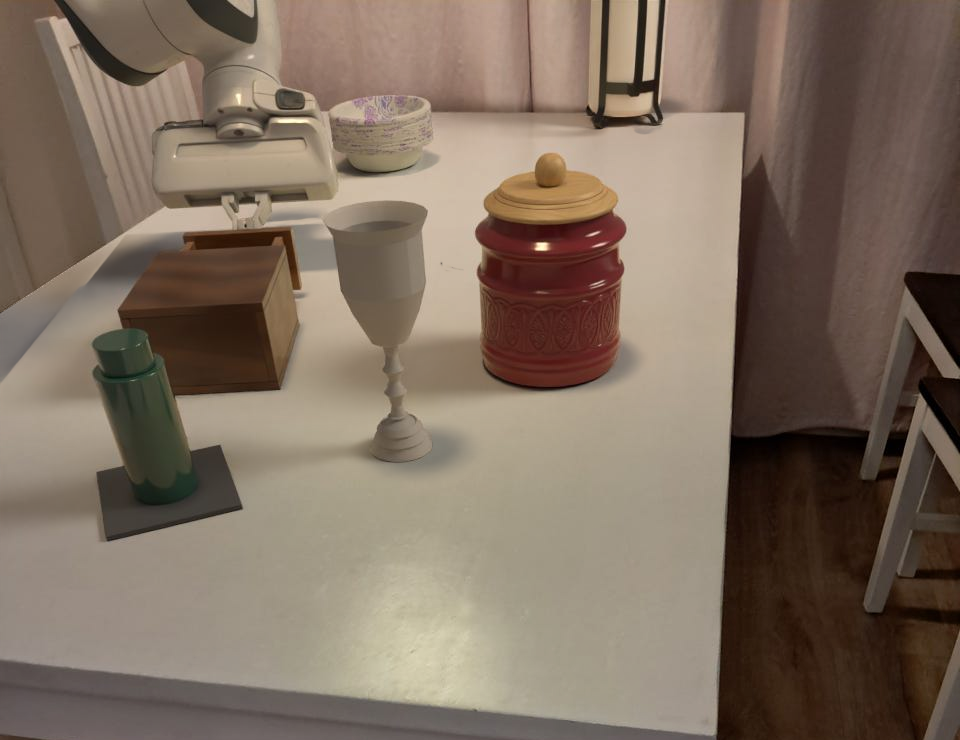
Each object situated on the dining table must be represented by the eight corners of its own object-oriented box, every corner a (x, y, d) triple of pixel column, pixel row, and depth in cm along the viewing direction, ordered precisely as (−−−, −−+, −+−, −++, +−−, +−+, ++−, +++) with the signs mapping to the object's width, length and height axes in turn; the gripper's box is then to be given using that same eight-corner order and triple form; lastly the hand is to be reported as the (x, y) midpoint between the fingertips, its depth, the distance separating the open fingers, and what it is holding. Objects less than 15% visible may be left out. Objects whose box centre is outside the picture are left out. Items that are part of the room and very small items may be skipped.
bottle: (121, 491, 72) (68, 342, 64) (174, 464, 74) (130, 318, 66) (158, 512, 69) (108, 361, 61) (212, 484, 72) (170, 335, 64)
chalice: (439, 421, 79) (421, 196, 67) (451, 461, 74) (434, 225, 62) (354, 431, 78) (320, 206, 66) (360, 472, 73) (325, 236, 61)
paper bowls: (337, 183, 134) (329, 121, 129) (333, 156, 145) (325, 98, 140) (441, 173, 135) (437, 112, 130) (429, 147, 147) (425, 90, 141)
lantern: (556, 123, 155) (558, -107, 135) (618, 104, 162) (629, -115, 143) (635, 139, 145) (650, -106, 125) (698, 118, 153) (722, -115, 133)
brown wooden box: (178, 331, 96) (157, 251, 90) (299, 325, 96) (285, 244, 90) (143, 396, 85) (116, 310, 79) (280, 389, 85) (262, 302, 79)
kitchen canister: (626, 334, 90) (638, 133, 78) (610, 395, 81) (621, 177, 69) (496, 328, 93) (490, 132, 81) (466, 386, 83) (453, 175, 72)
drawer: (206, 278, 104) (192, 220, 100) (306, 273, 104) (296, 214, 100) (171, 343, 91) (153, 279, 87) (285, 336, 91) (273, 272, 87)
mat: (97, 475, 74) (96, 471, 74) (221, 448, 77) (220, 444, 77) (107, 541, 67) (105, 536, 67) (243, 508, 70) (241, 504, 69)
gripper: (140, 105, 100) (143, 228, 99) (328, 94, 99) (333, 217, 98) (161, 140, 106) (164, 256, 105) (338, 130, 106) (343, 246, 105)
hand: (248, 237), depth 102 cm, fingers closed, pressing on drawer
